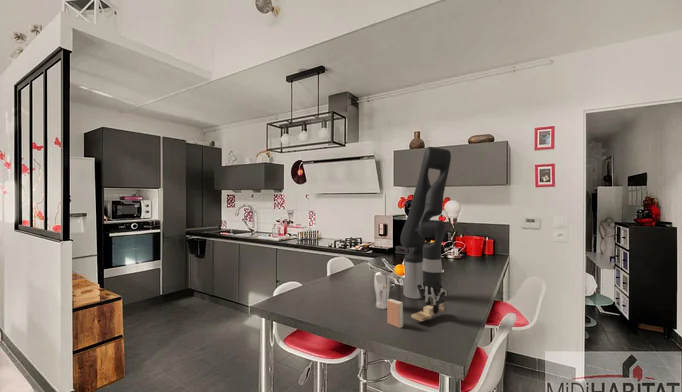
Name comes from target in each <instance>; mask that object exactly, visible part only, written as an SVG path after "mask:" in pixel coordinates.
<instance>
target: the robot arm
mask: <svg viewBox="0 0 682 392" xmlns="http://www.w3.org/2000/svg"><path fill="white" fill-rule="evenodd" d="M423 153H424V154H423V158H422V161H421V167H420V170H419V171H420V172H419V176H418V180H417V183H416V186H415V189H414V193H413V196H412V199H411V204H410V208H409V211H408V214H407V217H406V220H405V223H404V225H403V227H402V230H401V234H400V239H399V241H400V245H401V246H402V247H403V248H405V249H410V248H412V249H411V251H410V252H408V253H406V254H405V255H404V256H403V257H404V275H403V277H402V291H403V292H402V294H403V296H405V297H406V298H408V299H413V300H419V299H422V300H424V301H425V306H428V305H431V304H433V303H434V304H433V313H434V315H437V314H438V312H439V305H440V304H442V303H444V304H445V300H446V298H447V297H448V295H449V291H448V290H445V289H444V288H443V285H442V280H443V269H442V268H443V265H442V245H443V240H444V236H445V235H446V229H447V228H446V227H447V226H446V223H444V221H443V220H441V219H440V220H438V219H432V218H434V217H438V216H440V215H442V213H443V205H444V194H445V188H446V184H447V181H448V177H449V171H450V166H451V161H452V154H451V151H450V150H449V149H445V148H440V147H434V146H433V147H432V146H427V148H426V149H425V150H424V152H423ZM430 169H431V170H437V171H439V175H438V178H437V179H436V180H435V182H434V183H433V184H431V182H430V179H429V178H430V177H429V170H430ZM426 238H432V239H433V238H434V239H435V240H434V241H433V242H426ZM432 301H433V303H432ZM439 313H440V312H439Z"/></svg>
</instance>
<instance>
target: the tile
mask: <svg viewBox="0 0 682 392" xmlns="http://www.w3.org/2000/svg"><path fill="white" fill-rule="evenodd" d="M403 303H404V302H402V301H399V300H396V299H392V298H388V300H387V309H386V310H387V313H386V314H387V315H386V316H387V317H386V318H387V319H386V320H387V324H389V325H391V326H394V327H396V328H398V329H400V328H403V327H404V307H403V306H404V304H403Z"/></svg>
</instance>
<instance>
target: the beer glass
mask: <svg viewBox="0 0 682 392" xmlns="http://www.w3.org/2000/svg"><path fill="white" fill-rule="evenodd" d="M390 279H391V277H390V272H387V271H375V272H374V279H373V282H374V284H373V286H374V292H375V298H376V300H375V301H376V302H375V308H376V309H379V310H387V300H389V295H390V289H391V288H390V286H391V281H390Z"/></svg>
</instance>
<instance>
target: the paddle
mask: <svg viewBox="0 0 682 392" xmlns="http://www.w3.org/2000/svg"><path fill="white" fill-rule="evenodd" d="M433 304H434V303H431V305H428V306H426V305H425V306H423V309H422V310H421V311H418V312H415V313H412V314H411V318H412V319H414V320H417V321H419V322H424V321H427V320H429V319H431V318H432V317H433V316H434V315H435V314H434V313H433ZM444 311H445V302H444V303H442V304H440V305H439V312H438V313H441V312H444ZM438 313H437V314H438Z"/></svg>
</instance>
